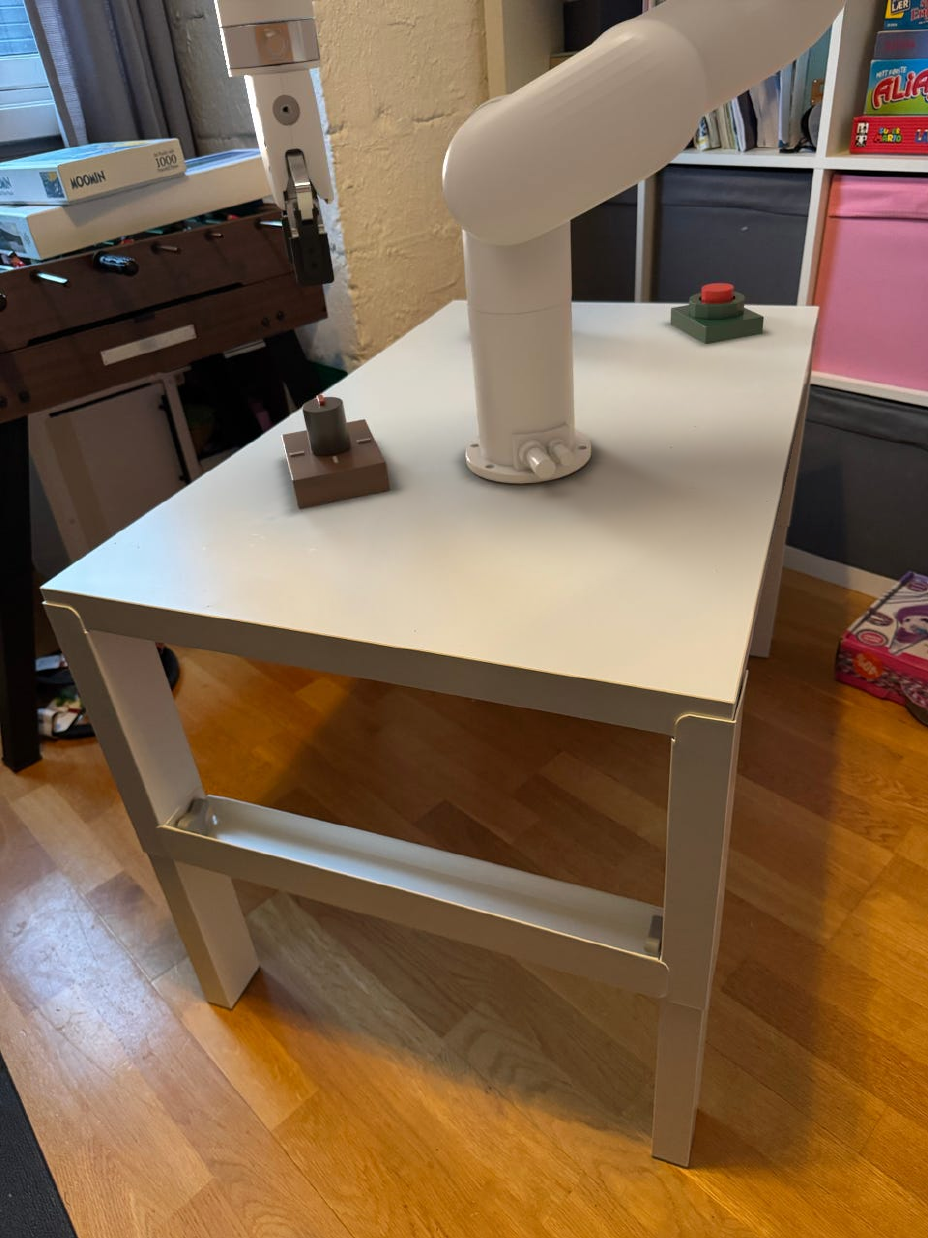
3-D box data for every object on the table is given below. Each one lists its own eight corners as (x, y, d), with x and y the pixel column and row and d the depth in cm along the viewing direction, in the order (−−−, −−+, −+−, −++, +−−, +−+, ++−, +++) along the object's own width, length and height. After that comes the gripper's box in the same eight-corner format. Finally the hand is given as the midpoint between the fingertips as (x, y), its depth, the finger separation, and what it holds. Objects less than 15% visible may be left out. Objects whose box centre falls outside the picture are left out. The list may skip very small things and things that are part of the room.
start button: (738, 302, 113) (739, 287, 112) (710, 307, 112) (710, 293, 111) (723, 294, 116) (724, 281, 115) (695, 299, 116) (696, 286, 115)
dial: (353, 450, 87) (345, 404, 84) (313, 458, 86) (303, 412, 84) (347, 436, 90) (339, 390, 87) (308, 443, 89) (299, 398, 87)
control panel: (390, 490, 86) (385, 460, 84) (298, 508, 84) (291, 478, 83) (369, 444, 95) (364, 417, 94) (286, 460, 94) (280, 433, 92)
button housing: (762, 333, 113) (765, 301, 111) (705, 344, 112) (707, 312, 109) (723, 314, 121) (725, 284, 119) (670, 324, 120) (671, 294, 118)
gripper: (331, 46, 65) (365, 288, 74) (307, 45, 79) (339, 248, 88) (228, 57, 63) (276, 301, 73) (223, 54, 77) (264, 258, 87)
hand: (310, 272), depth 81 cm, fingers open, 9 cm apart
